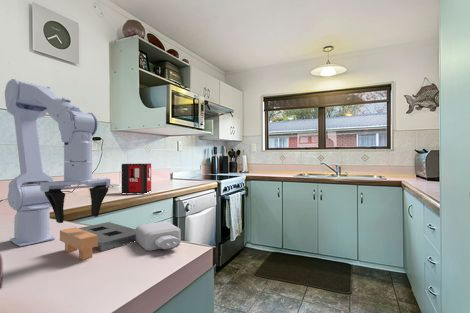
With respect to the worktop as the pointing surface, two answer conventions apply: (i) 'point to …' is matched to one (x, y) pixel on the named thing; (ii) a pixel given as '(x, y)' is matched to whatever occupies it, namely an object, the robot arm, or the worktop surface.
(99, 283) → the worktop surface
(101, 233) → the gray rectangular slab
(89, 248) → the clip
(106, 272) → the worktop surface
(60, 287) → the worktop surface
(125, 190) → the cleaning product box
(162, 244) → the charger
